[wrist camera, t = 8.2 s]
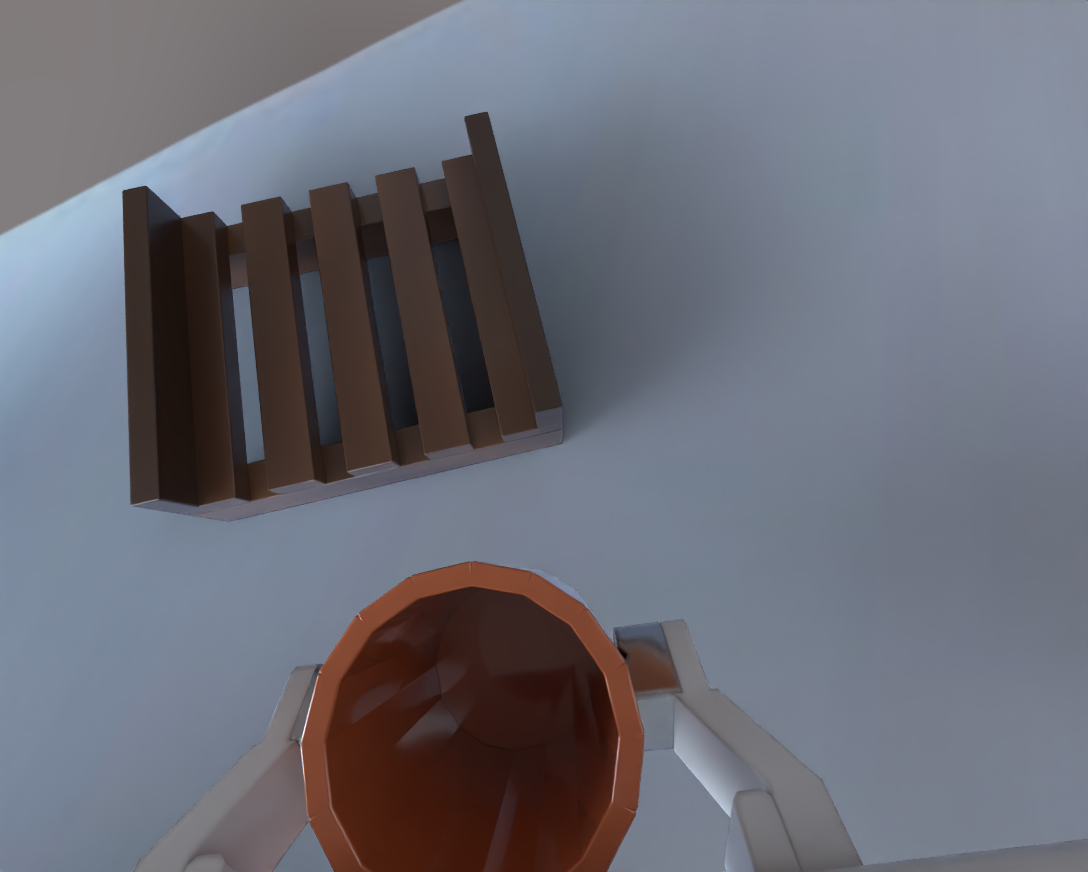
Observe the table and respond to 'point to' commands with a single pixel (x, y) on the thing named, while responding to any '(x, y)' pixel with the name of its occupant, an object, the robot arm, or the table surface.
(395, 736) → the cup
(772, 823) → the robot arm
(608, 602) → the table surface
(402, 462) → the rack
